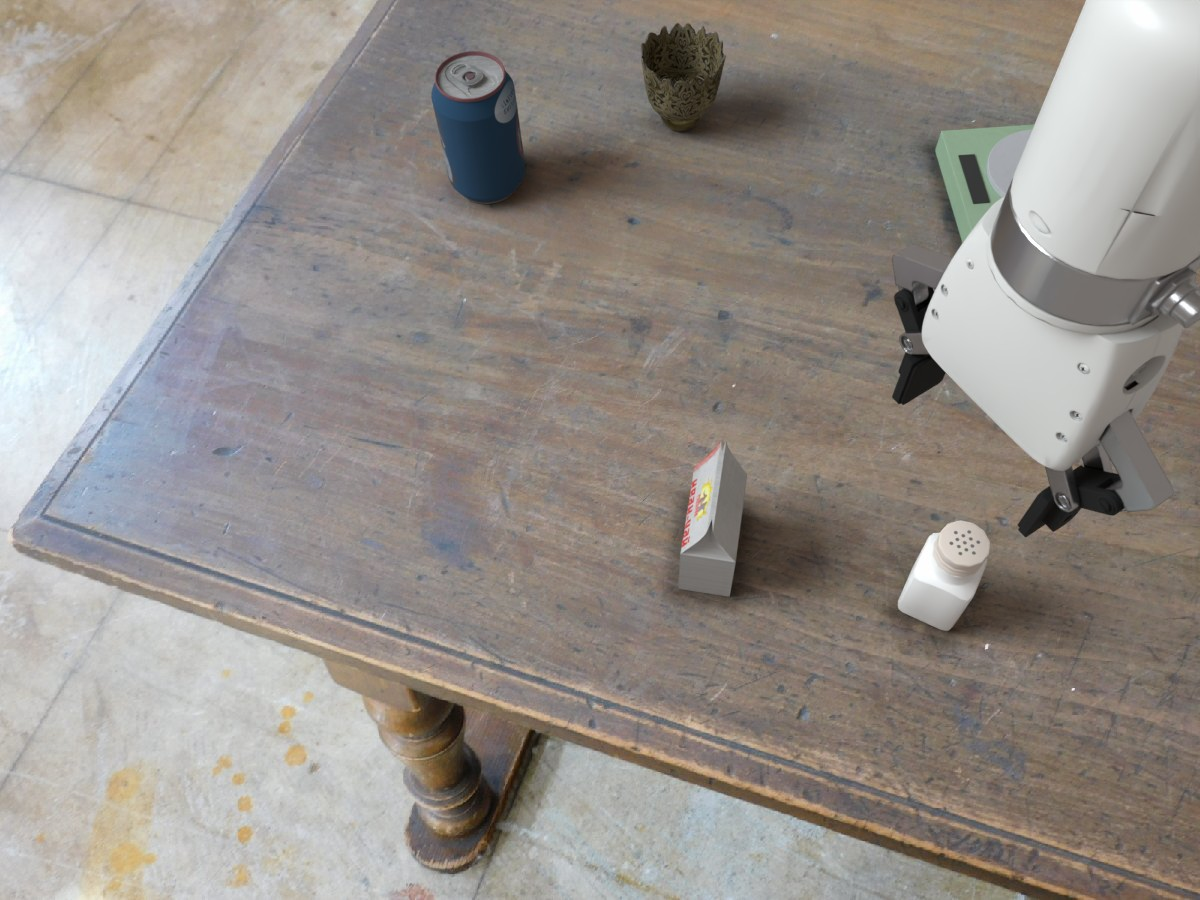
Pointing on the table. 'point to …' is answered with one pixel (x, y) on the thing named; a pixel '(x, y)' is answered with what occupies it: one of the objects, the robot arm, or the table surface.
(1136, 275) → the robot arm
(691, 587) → the grey upright carton
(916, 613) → the pepper shaker
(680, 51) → the cup
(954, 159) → the kitchen scale
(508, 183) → the soda can
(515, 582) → the table surface
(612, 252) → the table surface
